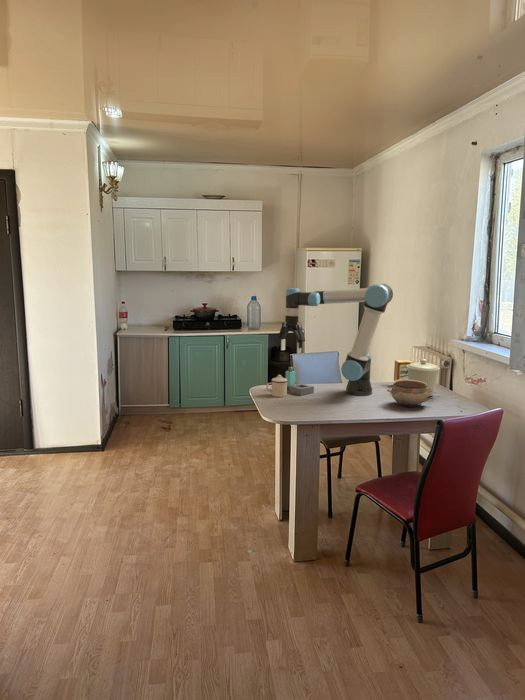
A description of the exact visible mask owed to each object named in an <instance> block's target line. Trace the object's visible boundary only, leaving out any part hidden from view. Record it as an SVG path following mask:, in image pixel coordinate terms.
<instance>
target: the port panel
mask: <svg viewBox="0 0 525 700" xmlns="http://www.w3.org/2000/svg"><path fill="white" fill-rule="evenodd" d="M314 389H315V387H314V385H309V384H305V383H297V384H296V383H295V385H290V386H289V391H288V393H290V394H293V395H295V396H300V397H303V396H308V395H312V394H314V393H315V390H314Z"/></svg>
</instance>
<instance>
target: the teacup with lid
mask: <svg viewBox="0 0 525 700" xmlns="http://www.w3.org/2000/svg"><path fill="white" fill-rule="evenodd" d="M270 381H271V382H268V383H266V385H265V388H266V390H267V391H268V392H270V393H271V396H272V397H276V398H284V397H286V396H287V395H288V391H287V379H286V377H283V376H282V375H281V374H278V375H277V376H276V377H273V378H272V379H271V380H270ZM269 385H271V389H269V387H268V386H269Z"/></svg>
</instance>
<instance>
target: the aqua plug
mask: <svg viewBox="0 0 525 700" xmlns="http://www.w3.org/2000/svg"><path fill="white" fill-rule="evenodd" d="M285 378H286V379H287V386H288V387H289V386H290V385H296V371H294V369H293V366H288V370H286V371H285Z"/></svg>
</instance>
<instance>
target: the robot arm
mask: <svg viewBox="0 0 525 700" xmlns="http://www.w3.org/2000/svg"><path fill="white" fill-rule="evenodd" d="M393 297H394V292H393V289H392V287H391V286H390V285H388V284H386V283H375V284H372V285H369V286H367V287H365V288H364V287H363V288H349V289H347V288H346V289H335V290H334V289H333V290H332V289H331V290H316V291H310V292H309V291H308V292H306V291H300V288H298V287H296V288H295V287H288V288H286V290H285V317H284V321H285V322H282V323H281V328H280V330H279V332H278V335H277V338H279V339H280V351H285V350H286V337H287V336H288V334H289V333H290V332H291V333H293V334H294V336H295V338H296V340H297V342H296V354H297V355H299V354H302V348H303V342H306V339H305V335H304V332H303V329H302V324H298V323H299V311H300V307H299V306H306V307H318V306H319V305H327V304H329V305H330V304H345V303H346V304H349V303H363V308H364V312H363V314H362V317H361V322H360V324H359V327H358V330H357V333H356V337H355V340H354V343H353V346H352V349H351V351H349V352H348V353H347V354H346V358H345V360H344V362H343V363H342V365H341V368H340V369H341V370H340V371H341V374H342V376H343V377H344V379H346V380H348V382H347V384H346V387H345V392H346V393H347V394H348V395H353V396H370V395H372V394H373V387H372V384H371V383H372V382H371V368H372V367H371V366H372V356H371V354H369V350H370V348H371V343H372V342H373V341H372V340H373V338H374V335H375V332H376V330H377V329H376V328H377V326H378V324H379V320H380V317H381V316H382V314H384V313H385V311H386V309H387V305H388V304H389V303H390V302H391V301H392V299H393Z"/></svg>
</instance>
